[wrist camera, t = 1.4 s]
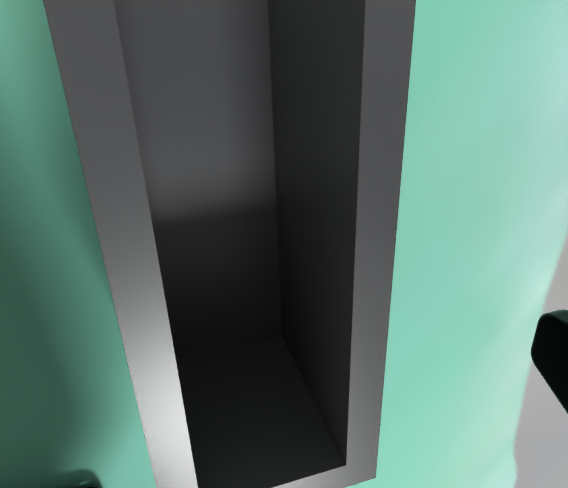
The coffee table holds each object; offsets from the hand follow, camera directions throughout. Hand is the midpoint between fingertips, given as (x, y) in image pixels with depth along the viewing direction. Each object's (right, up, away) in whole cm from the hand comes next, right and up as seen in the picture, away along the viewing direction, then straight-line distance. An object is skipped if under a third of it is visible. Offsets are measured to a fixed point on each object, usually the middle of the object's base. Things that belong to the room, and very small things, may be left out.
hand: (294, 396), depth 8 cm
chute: (-2, +4, +6) cm, 8 cm away
